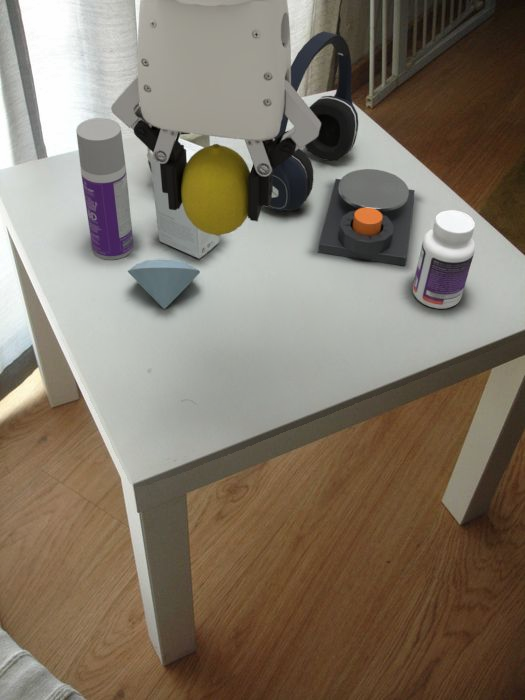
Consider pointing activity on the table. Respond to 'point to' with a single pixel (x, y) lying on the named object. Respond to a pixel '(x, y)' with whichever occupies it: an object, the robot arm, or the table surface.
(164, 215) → the cosmetic box
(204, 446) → the table surface
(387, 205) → the scale pan
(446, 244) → the pill bottle
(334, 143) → the earphone
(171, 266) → the gemstone
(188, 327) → the table surface
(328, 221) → the scale
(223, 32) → the robot arm
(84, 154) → the container
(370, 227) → the tare button
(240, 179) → the lemon
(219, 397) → the table surface
